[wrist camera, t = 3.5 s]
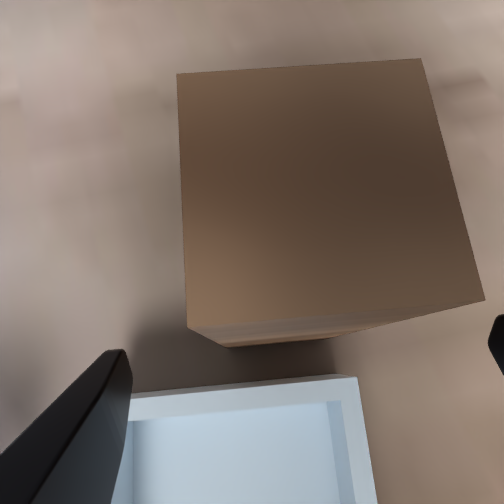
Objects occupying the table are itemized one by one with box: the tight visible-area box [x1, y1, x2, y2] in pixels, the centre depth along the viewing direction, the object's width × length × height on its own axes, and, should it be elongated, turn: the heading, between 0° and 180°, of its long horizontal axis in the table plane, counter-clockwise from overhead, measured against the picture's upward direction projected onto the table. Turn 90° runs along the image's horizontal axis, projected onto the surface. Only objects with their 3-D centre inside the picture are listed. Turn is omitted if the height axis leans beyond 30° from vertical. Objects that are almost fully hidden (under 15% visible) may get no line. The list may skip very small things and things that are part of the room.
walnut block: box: [177, 58, 485, 348], centre depth 13 cm, size 5×5×13 cm
